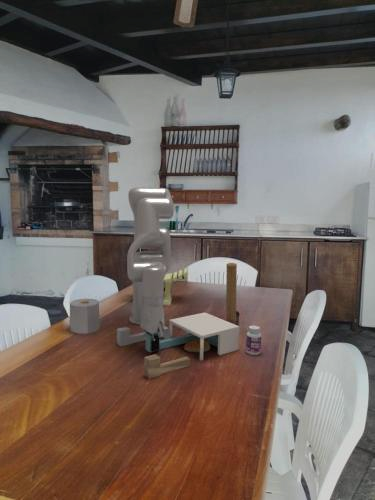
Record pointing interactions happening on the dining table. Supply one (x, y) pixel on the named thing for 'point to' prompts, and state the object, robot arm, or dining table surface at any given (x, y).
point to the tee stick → (134, 336)
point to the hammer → (231, 294)
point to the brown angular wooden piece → (162, 365)
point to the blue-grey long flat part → (178, 341)
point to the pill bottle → (253, 340)
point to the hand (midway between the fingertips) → (152, 348)
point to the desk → (209, 331)
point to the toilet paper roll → (84, 316)
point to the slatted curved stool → (168, 283)
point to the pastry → (196, 346)
